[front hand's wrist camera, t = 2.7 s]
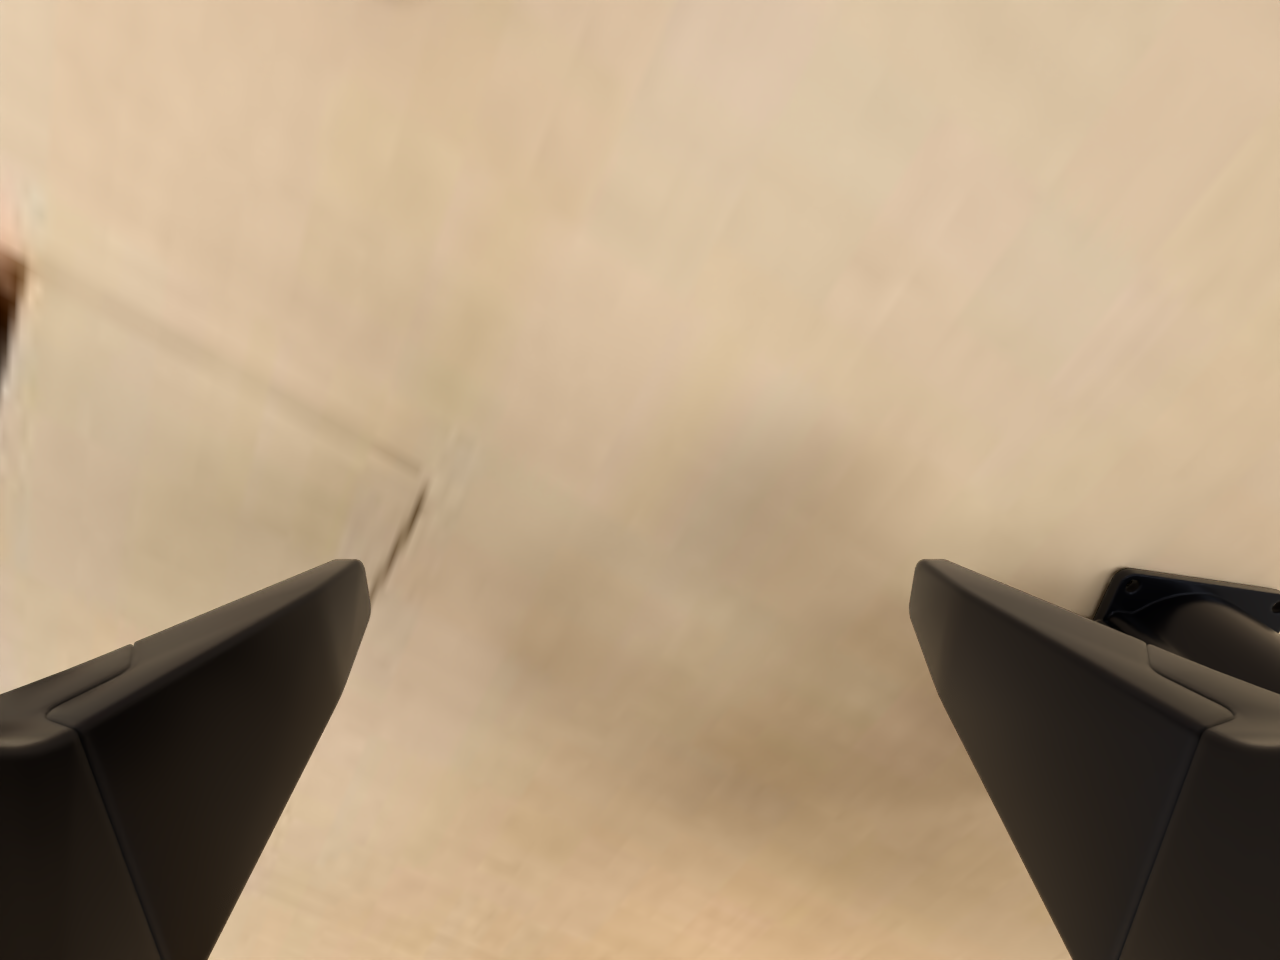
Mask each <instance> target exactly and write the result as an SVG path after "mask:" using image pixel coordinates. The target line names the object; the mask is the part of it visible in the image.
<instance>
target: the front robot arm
mask: <svg viewBox="0 0 1280 960" xmlns="http://www.w3.org/2000/svg"><path fill="white" fill-rule="evenodd" d="M1132 580H1133V581H1132ZM1130 581H1132V583H1131V584H1130V585H1128V586H1127V587H1126V585H1127V583H1128V582H1130ZM1275 603H1276V604H1275ZM1274 604H1275V605H1274ZM1273 605H1274V606H1273ZM370 613H371V603H370V597H369V591H368V585H367V578H366V572H365V568H364V565H363V563H362V562H361V561H360V560H357V559H336V560H332V561H330V562H328V563H325V564H323V565H320V566H318V567H315V568H313V569H311V570H308V571H306V572H303V573H301V574H299V575H296V576H294V577H291V578H289V579H286V580H284V581H282V582H279V583H277V584H274V585H272V586H270V587H267V588H265V589H262V590H260V591H257V592H255V593H253V594H250V595H248V596H245V597H243V598H240V599H238V600H236V601H233V602H231V603H228V604H226V605H224V606H221V607H219V608H216V609H214V610H211V611H209V612H207V613H204V614H202V615H199V616H197V617H195V618H192V619H190V620H187V621H185V622H182V623H180V624H178V625H175V626H173V627H170V628H168V629H165V630H163V631H161V632H158V633H156V634H153V635H151V636H149V637H146V638H144V639H141V640H139V641H136V642H135V643H134V646H133V645H131V644H130V645H127V646H124V647H122V648H119V649H117V650H114V651H112V652H110V653H107V654H105V655H102V656H100V657H97V658H95V659H92V660H90V661H87V662H85V663H82V664H80V665H77V666H75V667H72V668H70V669H67V670H65V671H62V672H59V673H57V674H54V675H51V676H49V677H46V678H43V679H41V680H38V681H35V682H33V683H30V684H28V685H25V686H22V687H20V688H17V689H14V690H11V691H9V692H6V693H3V694H0V960H208V958H209V956H210V954H211V952H212V950H213V948H214V946H215V944H216V942H217V940H218V938H219V936H220V934H221V932H222V930H223V928H224V926H225V924H226V922H227V920H228V918H229V916H230V914H231V912H232V910H233V908H234V906H235V904H236V902H237V900H238V898H239V897H240V895H241V893H242V891H243V889H244V887H245V885H246V883H247V881H248V879H249V877H250V875H251V873H252V871H253V869H254V867H255V865H256V863H257V861H258V859H259V857H260V855H261V853H262V851H263V849H264V847H265V845H266V843H267V841H268V839H269V837H270V835H271V833H272V831H273V830H274V828H275V826H276V824H277V822H278V820H279V818H280V816H281V814H282V812H283V810H284V808H285V806H286V804H287V802H288V800H289V798H290V796H291V794H292V792H293V790H294V788H295V786H296V784H297V782H298V780H299V778H300V776H301V774H302V772H303V770H304V768H305V766H306V764H307V763H308V761H309V759H310V757H311V755H312V753H313V751H314V749H315V747H316V745H317V743H318V741H319V739H320V737H321V735H322V733H323V731H324V729H325V727H326V725H327V723H328V721H329V719H330V717H331V715H332V713H333V711H334V709H335V707H336V705H337V703H338V701H339V699H340V697H341V695H342V692H343V690H344V687H345V685H346V682H347V679H348V677H349V674H350V671H351V668H352V666H353V663H354V660H355V657H356V655H357V652H358V649H359V646H360V644H361V641H362V638H363V635H364V633H365V630H366V627H367V624H368V622H369V618H370ZM909 613H910V618H911V622H912V624H913V627H914V630H915V633H916V635H917V638H918V641H919V644H920V646H921V649H922V652H923V655H924V657H925V660H926V663H927V666H928V668H929V671H930V674H931V677H932V679H933V682H934V685H935V687H936V690H937V692H938V695H939V697H940V699H941V701H942V703H943V705H944V707H945V709H946V711H947V713H948V715H949V717H950V719H951V721H952V723H953V725H954V727H955V729H956V731H957V733H958V735H959V737H960V739H961V741H962V743H963V745H964V747H965V749H966V751H967V753H968V755H969V757H970V759H971V761H972V763H973V765H974V766H975V768H976V770H977V772H978V774H979V776H980V778H981V780H982V782H983V784H984V786H985V788H986V790H987V792H988V794H989V796H990V798H991V800H992V802H993V804H994V806H995V808H996V810H997V812H998V814H999V816H1000V818H1001V820H1002V822H1003V824H1004V826H1005V828H1006V830H1007V832H1008V833H1009V835H1010V837H1011V839H1012V841H1013V843H1014V845H1015V847H1016V849H1017V851H1018V853H1019V855H1020V857H1021V859H1022V861H1023V863H1024V865H1025V867H1026V869H1027V871H1028V873H1029V875H1030V877H1031V879H1032V881H1033V883H1034V885H1035V887H1036V889H1037V891H1038V893H1039V895H1040V897H1041V899H1042V901H1043V902H1044V904H1045V906H1046V908H1047V910H1048V912H1049V914H1050V916H1051V918H1052V920H1053V922H1054V924H1055V926H1056V928H1057V930H1058V932H1059V934H1060V936H1061V938H1062V940H1063V942H1064V944H1065V946H1066V948H1067V950H1068V952H1069V954H1070V956H1071V958H1072V960H1280V634H1279V632H1280V591H1279V590H1277V589H1270V588H1263V587H1256V586H1249V585H1242V584H1235V583H1228V582H1222V581H1215V580H1208V579H1201V578H1194V577H1187V576H1180V575H1173V574H1166V573H1160V572H1153V571H1146V570H1139V569H1132V568H1128V569H1123V570H1120V571H1119V572H1118V573H1116V574H1115V575H1114V577H1113V578H1112V580H1111V582H1110V584H1109V587H1108V589H1107V591H1106V593H1105V595H1104V598H1103V600H1102V602H1101V604H1100V606H1099V608H1098V611H1097V613H1096V615H1095V617H1094V619H1093V620H1090V619H1088V618H1085V617H1083V616H1081V615H1078V614H1076V613H1073V612H1071V611H1069V610H1066V609H1064V608H1061V607H1059V606H1056V605H1054V604H1052V603H1049V602H1047V601H1044V600H1042V599H1040V598H1037V597H1035V596H1032V595H1030V594H1027V593H1025V592H1023V591H1020V590H1018V589H1015V588H1013V587H1010V586H1008V585H1006V584H1003V583H1001V582H998V581H996V580H994V579H991V578H989V577H986V576H984V575H981V574H979V573H977V572H974V571H972V570H969V569H967V568H965V567H962V566H960V565H957V564H955V563H952V562H950V561H948V560H944V559H923V560H920V561H919V562H918V563H917V565H916V568H915V572H914V578H913V585H912V591H911V597H910V603H909Z"/></svg>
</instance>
